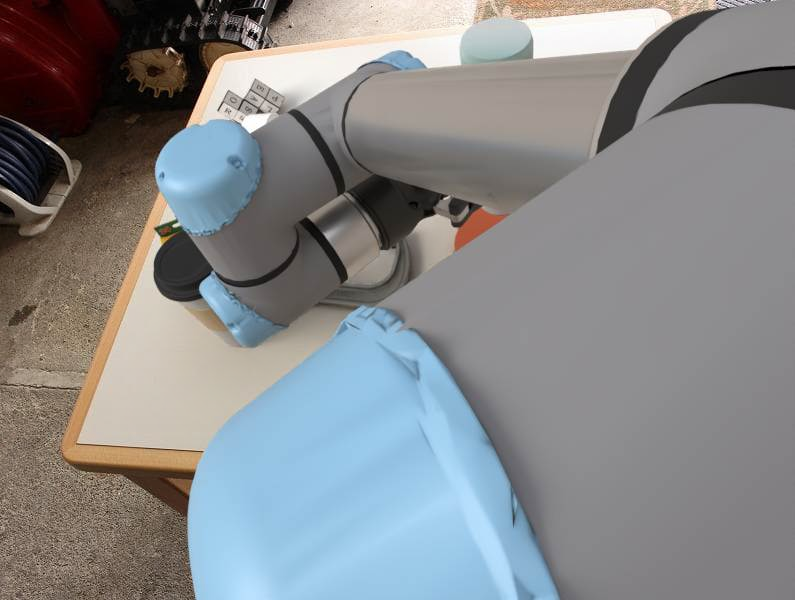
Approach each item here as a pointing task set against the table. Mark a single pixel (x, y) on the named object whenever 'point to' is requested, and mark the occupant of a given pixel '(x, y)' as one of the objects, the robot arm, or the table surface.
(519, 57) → the pale blue cylinder
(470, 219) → the terracotta mat
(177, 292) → the coffee cup
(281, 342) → the table surface
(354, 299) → the c clamp
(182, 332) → the table surface
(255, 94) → the building blocks
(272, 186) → the robot arm
